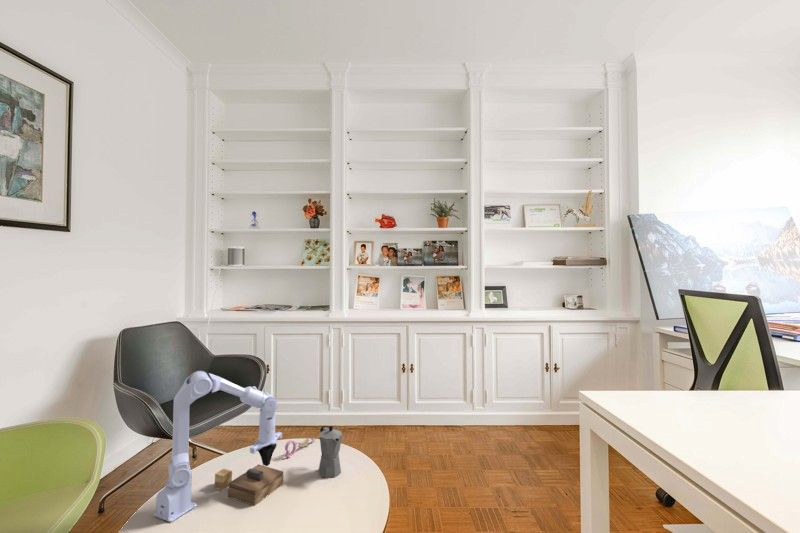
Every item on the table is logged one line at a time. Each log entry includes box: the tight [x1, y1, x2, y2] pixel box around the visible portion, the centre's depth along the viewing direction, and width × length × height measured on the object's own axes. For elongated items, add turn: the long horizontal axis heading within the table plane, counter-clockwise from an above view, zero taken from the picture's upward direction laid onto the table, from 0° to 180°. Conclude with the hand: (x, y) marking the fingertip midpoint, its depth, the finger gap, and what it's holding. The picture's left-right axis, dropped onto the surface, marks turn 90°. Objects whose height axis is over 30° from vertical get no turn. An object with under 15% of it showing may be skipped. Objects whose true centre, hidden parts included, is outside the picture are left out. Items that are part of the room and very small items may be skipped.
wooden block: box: [214, 468, 233, 491], centre depth 135 cm, size 4×4×5 cm
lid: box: [228, 464, 284, 494], centre depth 133 cm, size 14×12×4 cm
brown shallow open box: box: [227, 474, 284, 506], centre depth 133 cm, size 14×12×3 cm
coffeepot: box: [318, 425, 343, 479], centre depth 147 cm, size 15×9×18 cm, turn 36°
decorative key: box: [284, 437, 317, 459], centre depth 165 cm, size 7×1×20 cm
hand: (266, 464), depth 137 cm, fingers closed
